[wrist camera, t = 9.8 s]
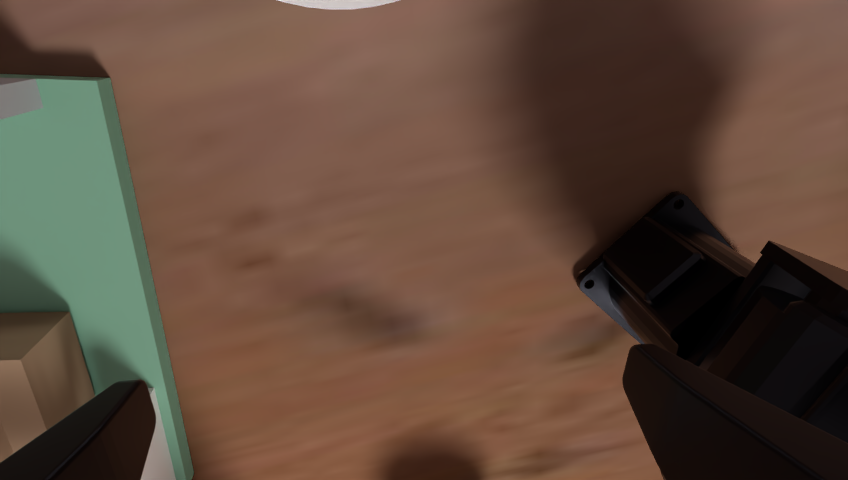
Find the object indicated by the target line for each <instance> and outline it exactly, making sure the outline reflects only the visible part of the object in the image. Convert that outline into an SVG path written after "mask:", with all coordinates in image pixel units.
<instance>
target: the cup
mask: <svg viewBox="0 0 848 480" xmlns="http://www.w3.org/2000/svg"><path fill="white" fill-rule="evenodd" d="M278 1H282V2H285V3H289V4H294V5H299V6H304V7H310V8H320V9H359V8H367V7H375V6H379V5H383V4H388V3H392V2H396V1H399V0H278Z"/></svg>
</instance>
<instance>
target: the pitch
mask: <svg viewBox="0 0 848 480" xmlns="http://www.w3.org/2000/svg"><path fill="white" fill-rule="evenodd" d="M18 312H70V315H71V319H72V322H73V325H74V328H75V332H76V335H77V338H78V341H79V345H80V348H81V351H82V355H83V358H84V361H85V364H86V368H87V371H88V374H89V378H90V381H91V384H92V387H93V391H94V394H95V396H96V395H98V394H99V393H101V392H102V391H103V390H105V389H106V388H108V387H109V386H111V385H112V384H114V383H115V382H117V381H122V380H135V379H141V380H143V381H145V383H146V384H147V386H148V390H149V393H150V396H151V400H152V403H153V407H154V410H155V414H156V426H155V431H154V434H153V438H152V441H151V445H150V448H149V452H148V455H147V459H146V462H145V466H144V470H143V473H142V477H141V480H192V477H193V475H194V470H193V466H192V461H191V456H190V451H189V447H188V442H187V437H186V433H185V428H184V423H183V418H182V414H181V409H180V404H179V400H178V395H177V390H176V386H175V381H174V376H173V371H172V367H171V362H170V357H169V353H168V348H167V343H166V338H165V334H164V329H163V324H162V320H161V315H160V310H159V306H158V301H157V296H156V291H155V287H154V282H153V277H152V273H151V268H150V263H149V258H148V254H147V249H146V244H145V240H144V235H143V230H142V226H141V221H140V216H139V211H138V207H137V202H136V197H135V193H134V188H133V183H132V179H131V174H130V169H129V164H128V160H127V155H126V150H125V146H124V141H123V136H122V131H121V127H120V122H119V117H118V113H117V108H116V103H115V99H114V94H113V89H112V84H111V80H110V78H102V77H74V76H46V75H18V74H0V313H18Z"/></svg>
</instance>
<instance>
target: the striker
mask: <svg viewBox="0 0 848 480" xmlns="http://www.w3.org/2000/svg"><path fill="white" fill-rule="evenodd" d="M93 397H95V394H94V391H93V387H92V384H91V381H90V378H89V374H88V371H87V368H86V364H85V361H84V358H83V355H82V351H81V348H80V345H79V341H78V338H77V335H76V332H75V328H74V325H73V322H72V319H71V315H70V312H18V313H0V462H2V461H3V460H5V459H6V458H8V457H9V456H10V455H12V454H13V453H15V452H16V451H18V450H19V449H20V448H22V447H23V446H25V445H26V444H28V443H29V442H30V441H32V440H33V439H35V438H36V437H38V436H39V435H40V434H42V433H43V432H45V431H46V430H48V429H49V428H51V427H52V426H53V425H55V424H56V423H58V422H59V421H61V420H62V419H63V418H65V417H66V416H68V415H69V414H71V413H72V412H73V411H75V410H76V409H78V408H79V407H81V406H82V405H83V404H85V403H86V402H88V401H89V400H91V399H92V398H93Z"/></svg>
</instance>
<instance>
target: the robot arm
mask: <svg viewBox="0 0 848 480" xmlns="http://www.w3.org/2000/svg"><path fill="white" fill-rule="evenodd" d="M677 200H679V203H678V204H677V205H676V206H674V203H675V201H677ZM760 253H761V254H762V256H761V257H760V259H759V260H758V261H757V263H756V264H755V263H753V262H752V261H750V260H749V259H747V258H746V257H744V256H742V255H741V254H739V253H738V252H736V251H734V250H733V249H732V248H731V246H730V245H729V244H728V243H727V242H726V241H725V240H724V238H723V237H722V236H721V235H720V234H719V233H718V231H717V230H716V229H715V228H714V227H713V226H712V225H711V223H710V222H709V221H708V220H707V219H706V218H705V216H704V215H703V214H702V213H701V212H700V211H699V209H698V208H697V207H696V206H695V205H694V204H693V203H692V201H691V200H690V199H689V198H688V197H687V196H686V195H684V194H682V193H680V192H672V193H670V194H669V195H668V196H666V197H665V198H664V199H663V200H662V201H661V202H660V203H659V204H658V205H656V206H655V207H654V208H653V209H652V210H651V211H650V212H649V213H648V214H647V215H645V216H644V217H643V218H642V219H641V220H640V221H638V222H637V223H636V224H635V225H634V226H633V227H632V228H631V229H630V230H628V231H627V232H626V233H625V234H624V235H623V236H622V237H621V238H620V239H619V240H617V241H616V242H615V243H614V244H613V245H612V246H611V247H610V248H609V249H607V250H606V251H605V252H604V253H603V254H602V255H601V256H600V257H599V258H598V259H597V260H596V261H595V262H593V263H592V264H591V265H590V266H589V267H588V268H587V269H586V270H585V271H584V272H582V273H581V274H580V275H579V277H578V278H577V281H576V282H577V286H578V287H579V288H580V290H581V291H582V292H583V293H584V294H586V295H587V296H588V297H589V298H590V299H591V300H592V301H593V302H595V303H596V304H597V305H598V306H599V307H600V308H601V309H602V310H604V311H605V312H606V313H607V314H608V315H609V316H610V317H611V318H613V319H614V320H615V321H616V322H617V323H618V324H619V325H620V326H622V327H623V328H624V329H625V330H626V331H627V332H628V333H629V334H630V335H632V336H633V337H634V338H635V339H636V340H637V341H638V342H639V343H641V344H638V345H634V346H632V347H631V348H630V350H629V354H628V358H627V362H626V366H625V370H624V374H623V387H624V390H625V393H626V395H627V397H628V400H629V402H630V404H631V407H632V409H633V411H634V413H635V416H636V418H637V420H638V423H639V425H640V427H641V429H642V432H643V434H644V436H645V439H646V441H647V443H648V445H649V448H650V450H651V452H652V454H653V456H654V458H655V460H656V462H657V464H658V466H659V468H660V471H661V474H662V476H663V479H664V480H848V271H845V270H843V269H840V268H838V267H835V266H833V265H830V264H828V263H825V262H823V261H820V260H818V259H815V258H812V257H810V256H807V255H805V254H802V253H800V252H797V251H795V250H792V249H790V248H787V247H785V246H782V245H780V244H777V243H775V242H772V241H768V242H767V244H766V245H765V247H764V248H763V249H762V251H761V252H760ZM588 280H591V281H590V283H589V284H587V285H585V282H586V281H588ZM155 426H156V414H155V410H154V407H153V403H152V400H151V396H150V393H149V390H148V386H147V384H146V383H145V381H143V380H141V379H135V380H122V381H117V382H115V383H114V384H112V385H111V386H109V387H108V388H106V389H105V390H103V391H102V392H101V393H99V394H98V395H96V396H95V397H93V398H92V399H91V400H89V401H88V402H86V403H85V404H83V405H82V406H81V407H79V408H78V409H76V410H75V411H73V412H72V413H71V414H69V415H68V416H66V417H65V418H63V419H62V420H61V421H59V422H58V423H56V424H55V425H53V426H52V427H51V428H49V429H48V430H46V431H45V432H43V433H42V434H40V435H39V436H38V437H36V438H35V439H33V440H32V441H30V442H29V443H28V444H26V445H25V446H23V447H22V448H20V449H19V450H18V451H16V452H15V453H13V454H12V455H10V456H9V457H8V458H6V459H5V460H3V461H2V462H0V480H141V477H142V473H143V470H144V466H145V462H146V459H147V455H148V452H149V448H150V445H151V441H152V438H153V434H154V431H155Z"/></svg>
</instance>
